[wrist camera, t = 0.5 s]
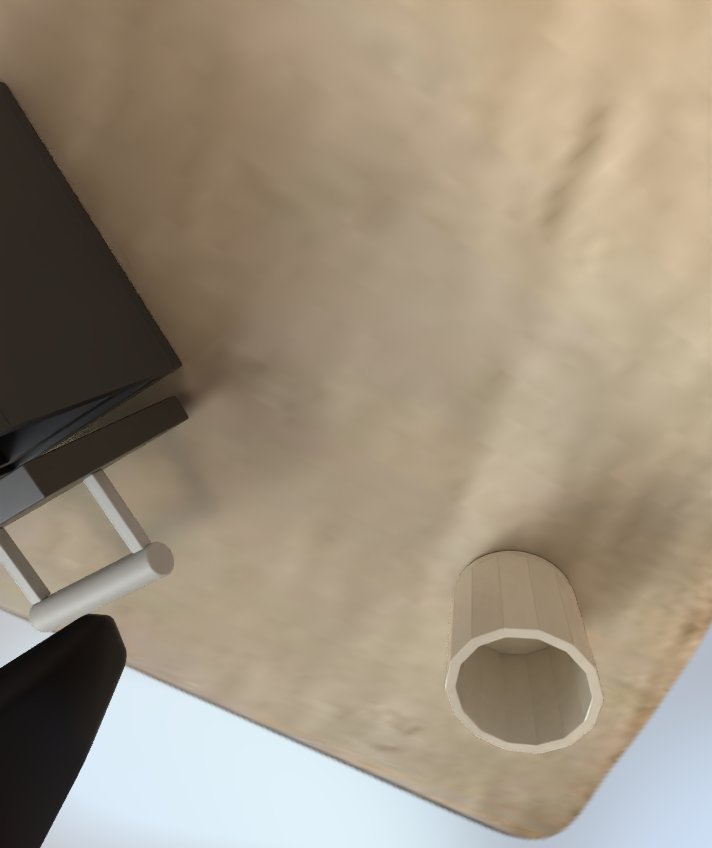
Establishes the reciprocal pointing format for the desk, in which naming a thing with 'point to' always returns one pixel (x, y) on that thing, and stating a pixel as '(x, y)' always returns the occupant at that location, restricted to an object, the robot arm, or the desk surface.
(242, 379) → the desk surface
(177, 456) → the desk surface
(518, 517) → the desk surface
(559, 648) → the container
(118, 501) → the drawer
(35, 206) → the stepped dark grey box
